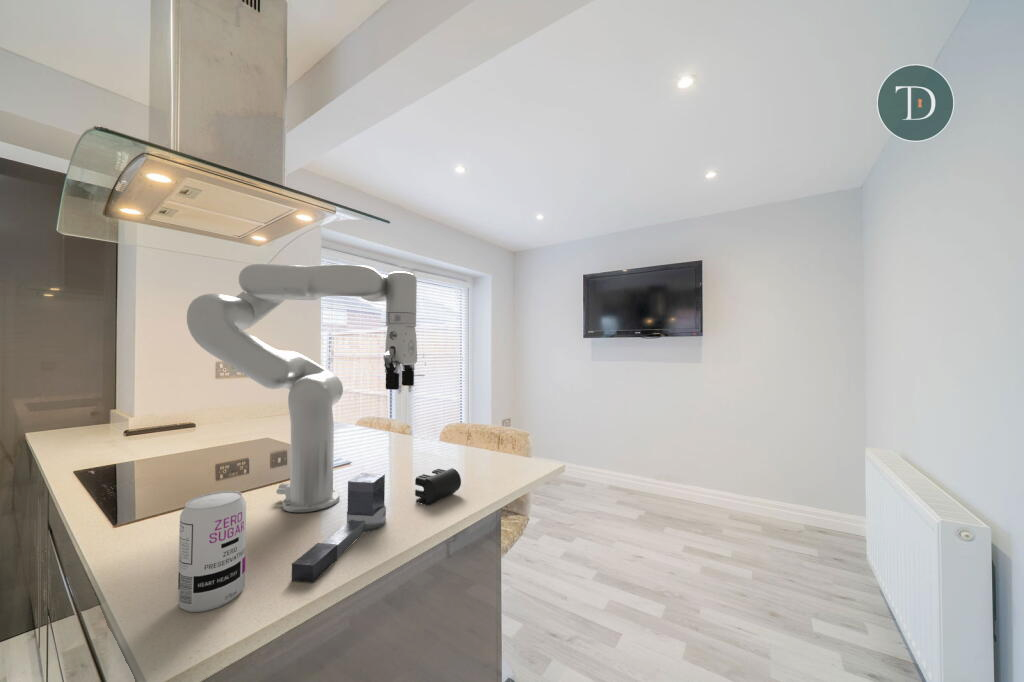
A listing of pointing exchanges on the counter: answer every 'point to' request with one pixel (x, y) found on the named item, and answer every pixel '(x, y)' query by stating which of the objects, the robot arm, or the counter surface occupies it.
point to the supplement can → (211, 550)
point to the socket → (366, 494)
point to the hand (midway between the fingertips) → (400, 387)
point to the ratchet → (334, 546)
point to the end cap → (437, 485)
